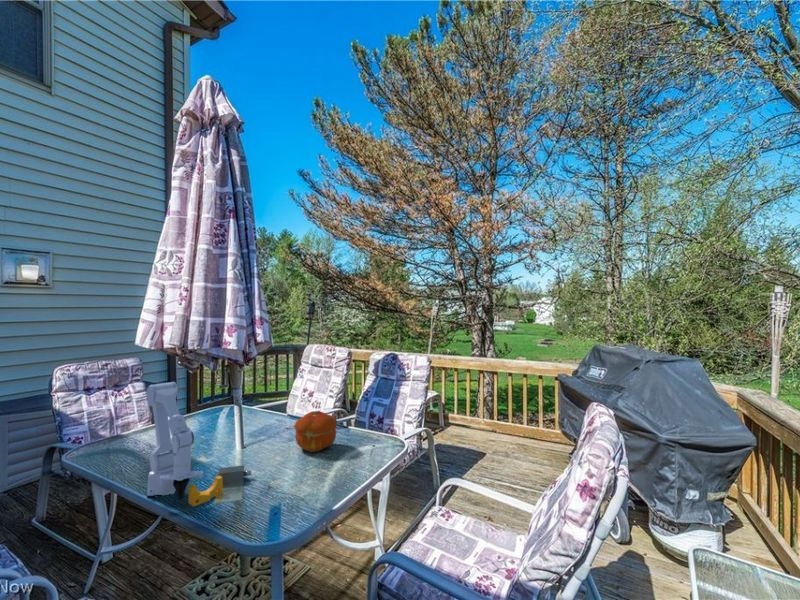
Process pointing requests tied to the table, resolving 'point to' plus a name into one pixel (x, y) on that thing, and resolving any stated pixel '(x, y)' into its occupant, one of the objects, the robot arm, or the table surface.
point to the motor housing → (231, 483)
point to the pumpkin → (315, 431)
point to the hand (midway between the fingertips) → (181, 498)
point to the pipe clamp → (205, 492)
